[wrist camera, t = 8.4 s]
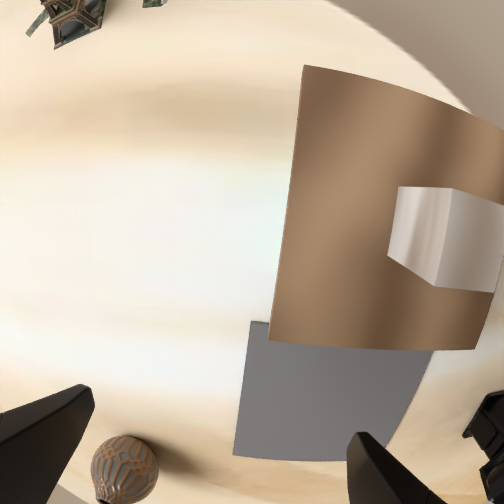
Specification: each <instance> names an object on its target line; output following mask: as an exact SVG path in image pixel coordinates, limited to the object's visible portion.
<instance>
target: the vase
mask: <svg viewBox="0 0 504 504" xmlns="http://www.w3.org/2000/svg"><path fill="white" fill-rule="evenodd" d="M158 472H159V468H158V462H157V459H156V457H155V455H154V453H153V452H152V450H151V449H150V448H149V447H148V446H147V445H146V444H145V443H143V442H142V441H140V440H138V439H136V438H133V437H129V436H117V437H113V438H111V439H108V440H107V441H105V442H104V443H103V444H102V445H101V446H100V447H99V448H98V449H97V451H96V452H95V454H94V456H93V459H92V463H91V476H92V480H93V484H94V487H95V491H96V500H97V501H98V502H99V503H100V504H133V503H136V502H139V501H141V500H143V499H144V498H146V497H147V496H148V495H149V494H150V493H151V491H152V490H153V488H154V487H155V485H156V482H157V478H158Z"/></svg>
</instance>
